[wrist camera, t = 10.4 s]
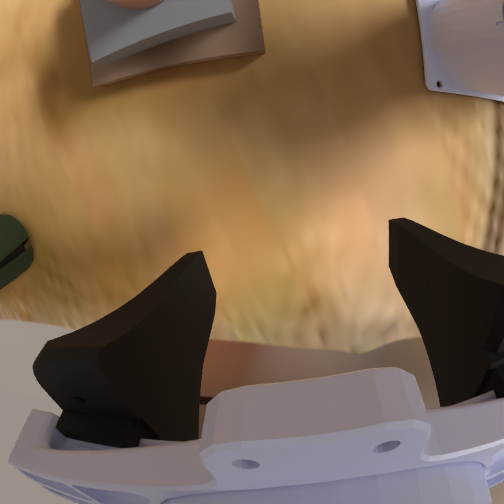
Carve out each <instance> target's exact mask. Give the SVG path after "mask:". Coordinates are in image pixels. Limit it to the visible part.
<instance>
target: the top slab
mask: <svg viewBox="0 0 504 504" xmlns="http://www.w3.org/2000/svg"><path fill="white" fill-rule="evenodd" d="M79 2H80V7H81V13H82V18H83V23H84V28H85V33H86V38H87V43H88V47H89V52H90V56H91V61H92V63H114V62H116V61H119V60H121V59H123V58H126V57H128V56H130V55H133V54H135V53H138V52H140V51H143V50H145V49H148V48H151V47H153V46H156V45H159V44H162V43H164V42H167V41H170V40H173V39H176V38H179V37H182V36H185V35H188V34H192V33H195V32H198V31H202V30H205V29H209V28H213V27H216V26H220V25H224V24H228V23H232V22H237V21H236V17H235V13H234V9H233V6H232V2H231V0H163V1H162V2H160V3H158V4H156V5H154V6H151V7H148V8H145V9H139V10H130V9H125V8H122V7H120V6H118V5H116V4H114V3H111V2H109V1H107V0H79Z"/></svg>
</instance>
